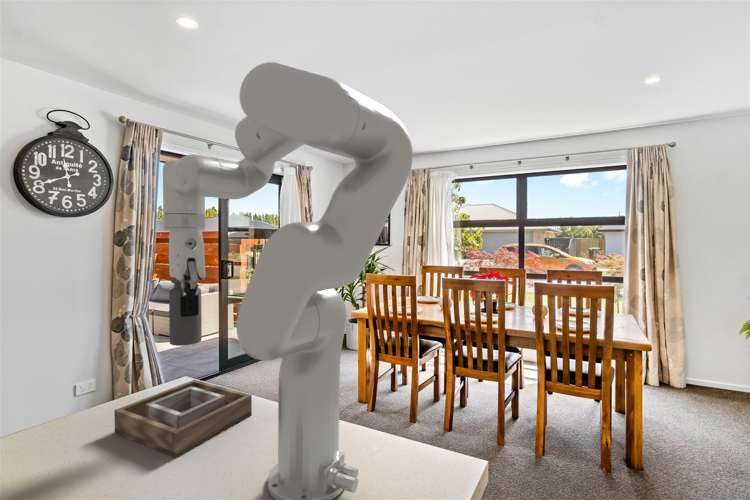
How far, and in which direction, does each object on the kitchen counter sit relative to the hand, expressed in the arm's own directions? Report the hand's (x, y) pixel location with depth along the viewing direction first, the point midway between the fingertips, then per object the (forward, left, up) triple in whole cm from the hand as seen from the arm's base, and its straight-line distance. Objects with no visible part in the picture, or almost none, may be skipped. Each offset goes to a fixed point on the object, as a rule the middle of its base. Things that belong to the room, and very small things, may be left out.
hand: (185, 312), depth 78 cm
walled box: (0, 0, -23) cm, 23 cm away
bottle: (0, 0, -6) cm, 6 cm away
